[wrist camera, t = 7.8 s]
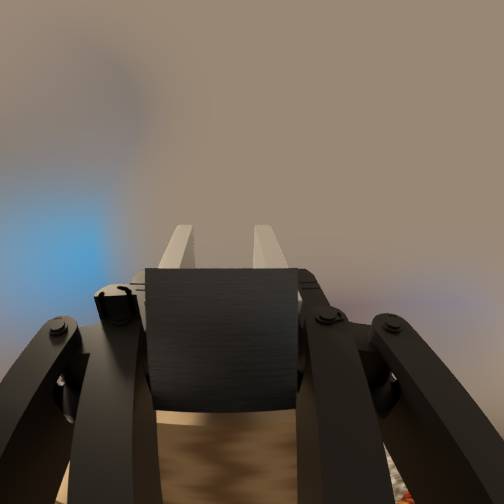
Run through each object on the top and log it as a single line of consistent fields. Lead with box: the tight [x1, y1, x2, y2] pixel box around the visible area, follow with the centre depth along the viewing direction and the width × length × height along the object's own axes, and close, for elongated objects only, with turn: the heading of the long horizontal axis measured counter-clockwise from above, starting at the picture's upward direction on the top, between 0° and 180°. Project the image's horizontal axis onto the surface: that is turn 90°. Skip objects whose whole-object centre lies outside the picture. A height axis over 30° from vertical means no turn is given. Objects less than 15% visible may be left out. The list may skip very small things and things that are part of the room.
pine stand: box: [55, 409, 297, 504], centre depth 20 cm, size 26×14×33 cm, turn 95°
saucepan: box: [145, 268, 298, 413], centre depth 15 cm, size 10×21×6 cm, turn 5°
